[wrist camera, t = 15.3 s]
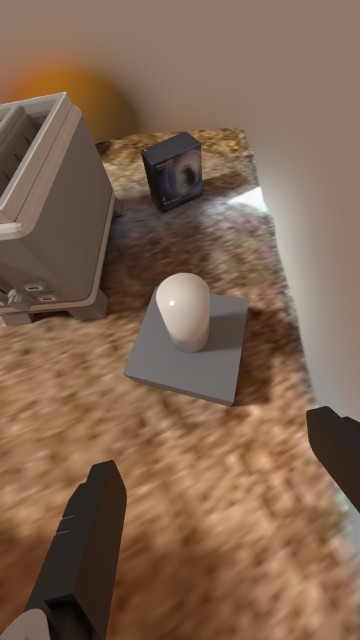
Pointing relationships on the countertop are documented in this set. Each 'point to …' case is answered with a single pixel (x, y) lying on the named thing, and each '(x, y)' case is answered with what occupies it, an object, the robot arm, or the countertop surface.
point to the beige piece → (185, 310)
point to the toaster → (51, 212)
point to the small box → (174, 171)
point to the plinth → (192, 368)
